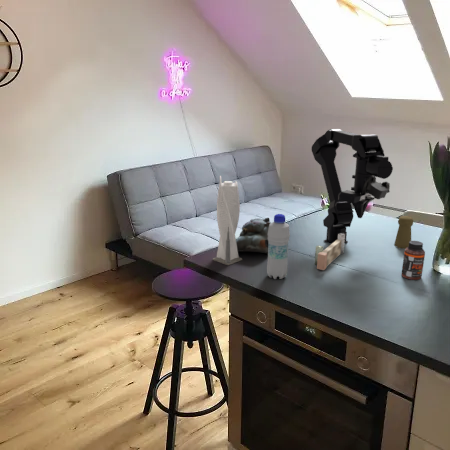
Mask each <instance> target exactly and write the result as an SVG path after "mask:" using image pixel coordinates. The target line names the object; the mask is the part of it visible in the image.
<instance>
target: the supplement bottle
mask: <svg viewBox="0 0 450 450" xmlns="http://www.w3.org/2000/svg"><path fill="white" fill-rule="evenodd" d="M423 245H424V243H423V242H421V241H420V240H419V241H418V240H411V241H410V242H409V246H408V247H407V248H406V249H404V252H403V261H402V268H401V276H402V277H403V278H405V279H407V280H410V281H418V280H420V279H422V276H423V272H424V263H425V255H426V251H425V250H424V248H423V247H424V246H423Z"/></svg>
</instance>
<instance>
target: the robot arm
mask: <svg viewBox="0 0 450 450" xmlns="http://www.w3.org/2000/svg"><path fill="white" fill-rule="evenodd" d="M340 144H343V145H346V146H349V147H351V148H352V150H353V151H355V153H354V154H352V157H353V158H356V161H355V171H354V174H353V175H352V176H351V178H352V179H354V181H353V182H354V183H353V184H354V185H353V186H351V189H350V190H348V189H347V190H344V191H343V190H342V188H341V183H340V180H339V179H340V178H339V176H338V172H337V168H336V163H335V160H336V156H337V150H338V148H339V147H340ZM311 152H312V155H313V159H314V160H315V161H316V162H317V164H318V165H320V168H321V171H322V175H323V179H324V184H325V188H326V190H327V194H328V195H327V196H328V200H329V204H328V208H327V215H326V216H325V217H324V219H322V220H323V223H322V224H323V226H324V227H326V238H325V239H323V242H324V243H326V244H329V245H331V244H332V243H333V242H335V241H336V240H337V239H338V233H344V234H345V242H344V245H345V244H347V243H348V240H347V233H348V232H347V228H348V227H349V228H350V227H351V225H352V222H353V219H354V212H355V214H356V216H357V218H358V219H362V218H363V216H364V213H365V211H366V209H367V207H368V204H369V203H371V202H372V201H374V200H375V199H376V200H380V199H385V198H386V195H387V194H388V193H390V192H391V191H390V187H391V184H390V182H388V181H383V182H382V183H381V182H379V181H378V182H377V178H380V179H383V180H384V179H388V178H389V177H390V176H391V175H392V173H393V169H394V167H393V164H392V162H391V161H389V156H385V153H384V149H383V147H382V143H381V141H380V139H379V136H378V135H377V134H376V133H373V134H370V133H369V134H357V133H353V132H351V131H350V132H349V131H346V130H342V129H340V128H333V129H331V128H330V129H327V131H325V133H324V134H323V135H321V136H319V137H317V138H316V139H315V141H314V142H313V144H312V145H311ZM353 209H354V210H353Z"/></svg>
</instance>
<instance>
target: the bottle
mask: <svg viewBox="0 0 450 450" xmlns="http://www.w3.org/2000/svg"><path fill="white" fill-rule="evenodd" d="M267 235H268V241H269V243H268V254H267V263H266V272H267V276H268V277H269V278H270V279H272V278H273V279H274V280H277V277H278V278H279V280H283V278H286V276H287V274H288V251H289V241H290V237H291V233H290V225H289V224H288V223H286V216H285V214H282V213H276V214H275V215H274V216H273V222H271V223H270V224H269V229H268V234H267Z"/></svg>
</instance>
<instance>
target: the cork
mask: <svg viewBox="0 0 450 450" xmlns="http://www.w3.org/2000/svg"><path fill="white" fill-rule="evenodd" d="M397 224H398V229H397V232H396V236H395V240H394V244H393V245H394V247H396V248H399V249H403V250H405V249H406V248H407V247H408V246H409V242H410V241H412V226H414V219H413V217H411V216H407V215H402V216H400V217H399V218H398V220H397Z"/></svg>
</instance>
